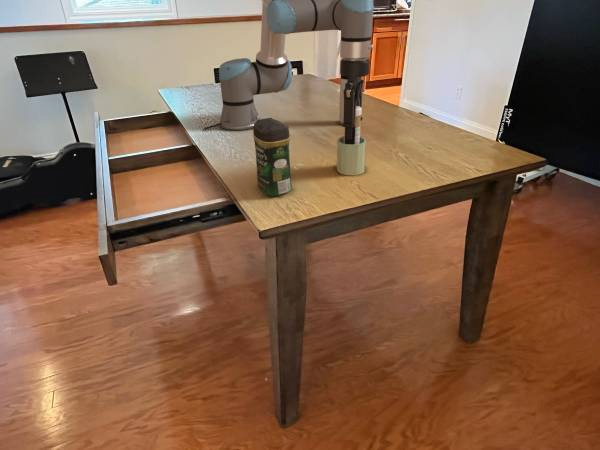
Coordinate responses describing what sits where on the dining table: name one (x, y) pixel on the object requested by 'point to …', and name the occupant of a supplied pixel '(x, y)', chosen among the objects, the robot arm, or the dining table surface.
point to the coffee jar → (272, 156)
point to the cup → (351, 157)
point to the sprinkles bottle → (356, 125)
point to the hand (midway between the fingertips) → (351, 146)
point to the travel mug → (342, 97)
